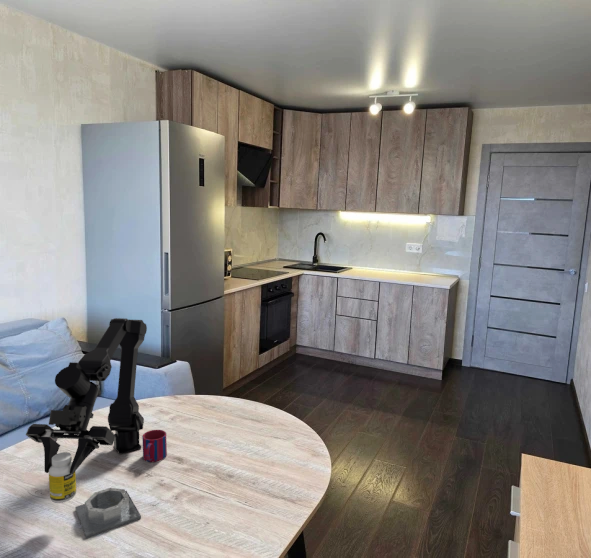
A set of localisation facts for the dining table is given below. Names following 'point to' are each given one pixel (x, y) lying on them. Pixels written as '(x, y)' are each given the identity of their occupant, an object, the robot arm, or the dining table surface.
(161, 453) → the mug
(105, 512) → the collar
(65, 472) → the supplement bottle
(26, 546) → the dining table surface
